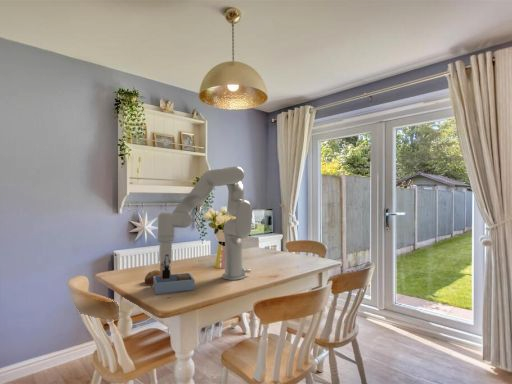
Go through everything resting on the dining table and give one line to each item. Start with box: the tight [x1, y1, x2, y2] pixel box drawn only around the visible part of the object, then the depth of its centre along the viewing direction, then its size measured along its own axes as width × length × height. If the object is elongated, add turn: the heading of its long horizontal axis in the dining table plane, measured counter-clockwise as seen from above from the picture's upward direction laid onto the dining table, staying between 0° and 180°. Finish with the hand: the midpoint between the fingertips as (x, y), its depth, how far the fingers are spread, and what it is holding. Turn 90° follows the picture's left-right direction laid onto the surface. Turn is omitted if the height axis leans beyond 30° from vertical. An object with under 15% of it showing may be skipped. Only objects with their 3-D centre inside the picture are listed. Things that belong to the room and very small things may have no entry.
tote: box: [152, 272, 196, 296], centre depth 146 cm, size 18×14×5 cm
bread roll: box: [144, 269, 160, 286], centre depth 156 cm, size 10×10×8 cm
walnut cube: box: [177, 273, 189, 281], centre depth 148 cm, size 5×5×5 cm
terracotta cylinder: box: [159, 262, 172, 280], centre depth 145 cm, size 5×5×7 cm
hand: (165, 276), depth 145 cm, fingers closed on terracotta cylinder, 5 cm apart
